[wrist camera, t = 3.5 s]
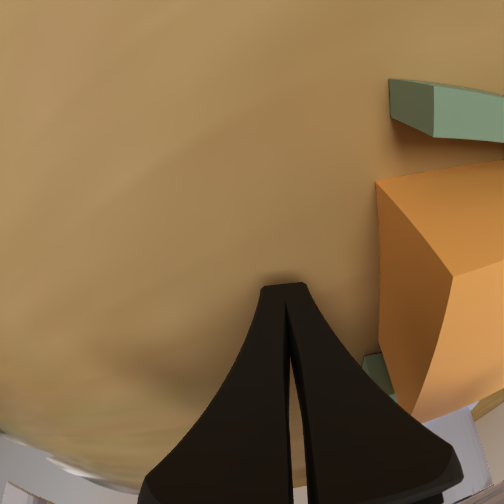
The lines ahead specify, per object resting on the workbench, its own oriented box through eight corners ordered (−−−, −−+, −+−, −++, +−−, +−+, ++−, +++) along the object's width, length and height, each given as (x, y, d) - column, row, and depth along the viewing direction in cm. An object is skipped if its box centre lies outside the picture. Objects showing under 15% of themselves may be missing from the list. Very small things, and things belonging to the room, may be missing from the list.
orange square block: (502, 295, 12) (545, 362, 8) (376, 337, 13) (404, 429, 9) (531, 154, 8) (613, 212, 4) (373, 179, 9) (453, 276, 5)
